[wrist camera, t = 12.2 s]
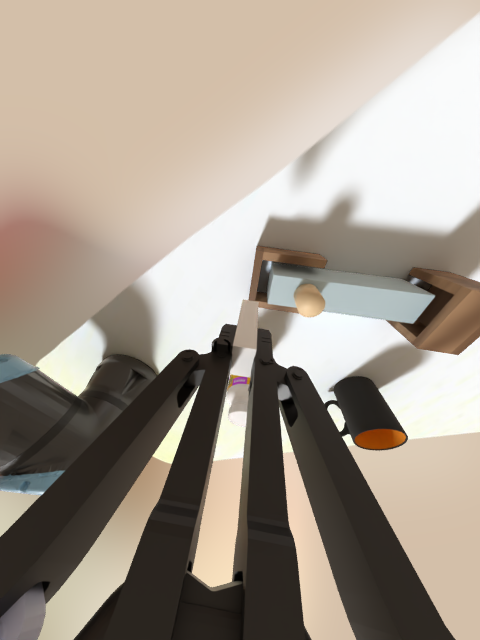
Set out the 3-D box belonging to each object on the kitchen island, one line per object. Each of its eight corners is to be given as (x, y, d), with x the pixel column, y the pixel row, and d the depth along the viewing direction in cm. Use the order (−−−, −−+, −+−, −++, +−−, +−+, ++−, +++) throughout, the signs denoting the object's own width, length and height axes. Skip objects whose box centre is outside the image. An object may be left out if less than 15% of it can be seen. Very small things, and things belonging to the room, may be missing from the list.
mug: (312, 386, 40) (325, 436, 31) (369, 371, 35) (404, 424, 26) (324, 405, 43) (339, 454, 34) (378, 394, 38) (411, 447, 30)
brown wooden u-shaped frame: (249, 295, 29) (247, 305, 26) (256, 245, 24) (256, 250, 22) (302, 303, 28) (306, 314, 26) (319, 254, 24) (327, 260, 21)
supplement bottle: (252, 342, 34) (246, 402, 24) (270, 362, 37) (273, 424, 26) (227, 355, 37) (213, 414, 27) (246, 373, 40) (239, 433, 29)
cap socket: (380, 315, 28) (417, 348, 21) (413, 267, 24) (472, 290, 17) (411, 320, 28) (458, 354, 21) (450, 272, 23) (525, 297, 17)
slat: (266, 286, 28) (268, 315, 20) (271, 262, 26) (274, 283, 18) (385, 302, 27) (432, 338, 19) (401, 278, 25) (460, 308, 17)
